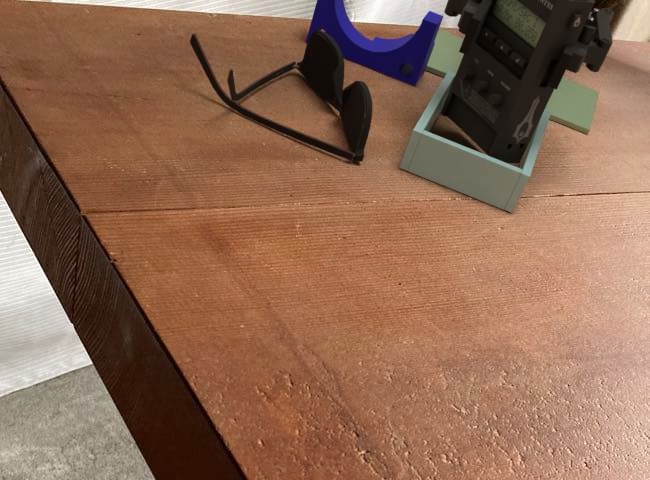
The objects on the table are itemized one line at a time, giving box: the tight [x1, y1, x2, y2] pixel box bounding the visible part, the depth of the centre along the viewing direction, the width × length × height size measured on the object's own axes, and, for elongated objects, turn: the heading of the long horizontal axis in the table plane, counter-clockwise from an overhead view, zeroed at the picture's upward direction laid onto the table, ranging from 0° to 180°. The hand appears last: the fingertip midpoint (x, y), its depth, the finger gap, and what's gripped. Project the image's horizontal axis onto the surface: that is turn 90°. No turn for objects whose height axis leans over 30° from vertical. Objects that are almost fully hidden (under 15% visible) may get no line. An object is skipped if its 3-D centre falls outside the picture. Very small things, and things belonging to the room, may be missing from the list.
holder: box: [398, 71, 551, 214], centre depth 89 cm, size 11×16×4 cm, turn 160°
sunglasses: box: [189, 30, 373, 162], centre depth 85 cm, size 17×14×5 cm
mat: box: [425, 28, 600, 135], centre depth 106 cm, size 20×12×1 cm, turn 70°
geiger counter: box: [440, 0, 596, 164], centre depth 84 cm, size 10×4×15 cm, turn 25°
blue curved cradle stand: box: [305, 0, 444, 87], centre depth 99 cm, size 12×4×6 cm, turn 70°
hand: (514, 53), depth 79 cm, fingers closed on geiger counter, 7 cm apart
